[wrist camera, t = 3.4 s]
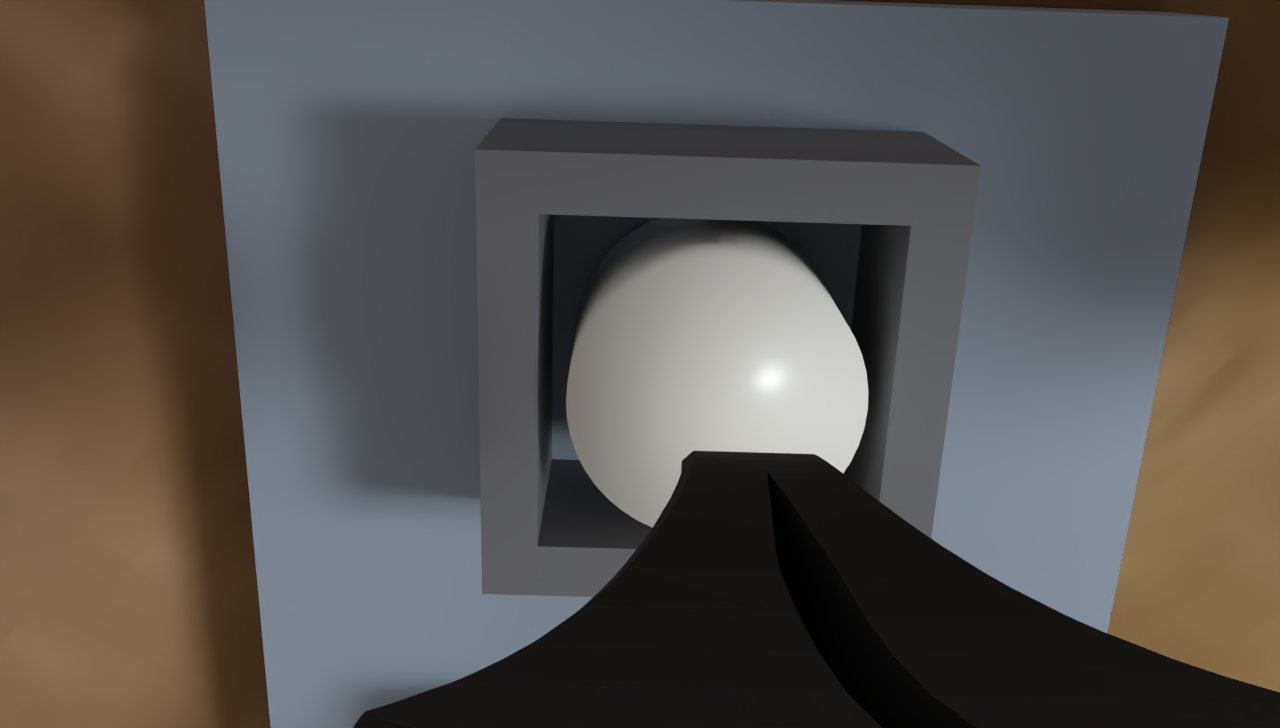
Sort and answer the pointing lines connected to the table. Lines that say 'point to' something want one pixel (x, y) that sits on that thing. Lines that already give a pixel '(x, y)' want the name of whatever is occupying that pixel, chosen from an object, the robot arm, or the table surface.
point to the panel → (685, 189)
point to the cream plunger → (707, 358)
